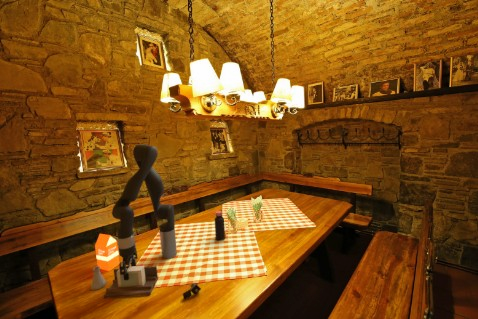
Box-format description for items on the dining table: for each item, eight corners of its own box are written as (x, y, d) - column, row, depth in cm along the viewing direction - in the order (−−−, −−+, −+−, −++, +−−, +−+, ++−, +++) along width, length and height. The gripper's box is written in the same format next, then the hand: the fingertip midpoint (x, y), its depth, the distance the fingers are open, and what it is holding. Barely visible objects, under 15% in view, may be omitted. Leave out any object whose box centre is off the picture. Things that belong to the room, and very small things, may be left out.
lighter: (188, 303, 107) (182, 297, 105) (187, 301, 109) (180, 295, 107) (201, 289, 110) (195, 283, 108) (200, 287, 111) (193, 281, 109)
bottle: (216, 236, 169) (214, 210, 166) (225, 236, 169) (223, 210, 166) (215, 240, 162) (213, 213, 159) (224, 240, 162) (223, 213, 159)
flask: (89, 292, 115) (86, 273, 113) (92, 283, 121) (89, 266, 120) (105, 287, 118) (103, 269, 116) (107, 279, 124) (105, 262, 123)
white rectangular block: (118, 289, 114) (116, 272, 112) (122, 283, 118) (120, 267, 117) (142, 287, 114) (140, 270, 113) (145, 281, 118) (144, 265, 117)
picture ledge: (116, 282, 122) (114, 268, 121) (157, 279, 122) (156, 266, 122) (104, 298, 110) (102, 284, 109) (150, 294, 111) (148, 280, 110)
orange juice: (108, 271, 132) (104, 238, 129) (97, 268, 135) (93, 236, 132) (120, 263, 139) (116, 232, 137) (109, 261, 142) (105, 230, 140)
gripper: (128, 251, 106) (131, 283, 108) (140, 237, 120) (143, 265, 122) (111, 252, 106) (115, 284, 108) (125, 238, 120) (129, 266, 122)
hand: (130, 274), depth 115 cm, fingers open, 8 cm apart
